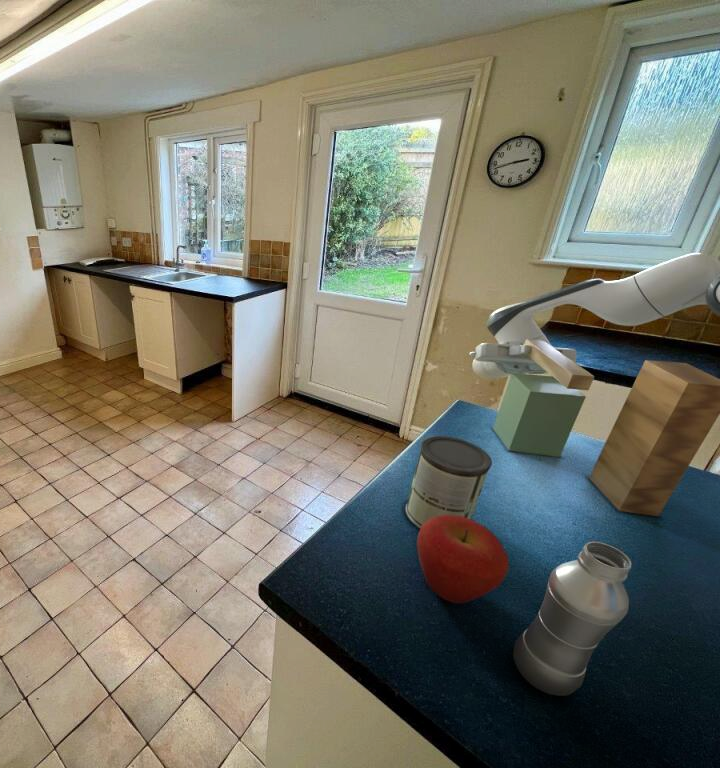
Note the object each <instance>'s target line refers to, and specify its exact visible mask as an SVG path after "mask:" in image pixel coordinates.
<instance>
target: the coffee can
mask: <svg viewBox="0 0 720 768" xmlns="http://www.w3.org/2000/svg"><path fill="white" fill-rule="evenodd" d="M419 450H420V451H419V455H418V459H417V463H416V466H415V471H414V475H413V478H412V482H411V487H410V491H409V495H408V499H407V503H406V505H405V514H406V516H407V518H408V519H409V521H410V522H411V523H412V524H413V525H414V526H416V527H417V528H418V529H419V530H420V529H421V526H422V525H423V524H424V523H425V522H426V521H428V520H429V519H431V518H434V517H438V516H441V515H456V516H462V517H464V518H467V519H470V520H473V515H474V513H475V510H476V507H477V505H478V501H479V498H480V496H481V492H482V489H483V487H484V484H485V482H486V478H487V476H488V473H489V470H490V469H491V467H492V464H493V460H492V458H491V456H490V455H489V454H488V453H487V452H486V451H485V450H484V449H482V448H481V447H480V446H478V445H476V444H474V443H472V442H470V441H466V440H464V439H461V438H456V437H452V436H445V435H436V436H435V435H434V436H431V437H430V436H429V437H427V438H425V439H424V440H422V441H421V444H420V449H419Z"/></svg>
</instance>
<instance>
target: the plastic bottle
mask: <svg viewBox="0 0 720 768" xmlns="http://www.w3.org/2000/svg"><path fill="white" fill-rule="evenodd" d="M631 569H632V561H631V559H630V558H629V557H628V556H627V555H626V554H625V552H623V551H621V550H620V549H619V548H616V547H615V546H612V545H611V544H607V543H605V542H599V541H589V542H587V543H586V544H584V546H583V548H582V550H581V551H580V552H579V553H578V555H577V558H576V560H571V561H567V562H562V563H561V564H559V565H558V566H556V567H555V568H553V570H552V571H551V572H550V576H549V577H548V582H547V586H546V590H545V594H544V599H542V600H543V601H542V602H541V605H540V609H539V610H538V613H537V615H536V617H535V618H534V619H533V621H532V622H531V623H530V625H529V626H528V628H526V629H525V630H524V631H523V632H522V633H521V634H520V635H519V636H518V638H517V639H516V640H515V643H514V645H513V646H514V647H513V653H512V658H513V661H514V664H515V666H516V668H517V670H518V671H519V673H520V674H521V676H522V677H523V678H524V680H526V682H528V683H529V684H530V685H532V687H534V688H536V689H537V690H539V691H541V692H543V693H545V694H548V695H552V696H558V697H565V696H570V695H572V694H573V693H575V692H576V691H577V690H578V689H580V688H581V686H582V685H583V683H584V680H585V676H586V672H587V666H588V664H589V663H590V659H591V657H592V656H593V655H592V654H593V652H594V650H595V649H596V648H597V646H598V645H599V644H600V642H601V641H602V640H603V638H604V637H605V636H606V635H607V634H609V632H610V631H612V629H613V628H615V627H616V626H617V625H618V624H619V623H620V622H621V621H622V620H623V619H624V618H625V617H626V616H627V614H628V612H629V605H630V603H629V602H630V599H629V595H628V593H627V591H626V587H625V586H624V584H623V583H624V582H625V581H626V579H627V578H628V573H629V572H630V570H631Z"/></svg>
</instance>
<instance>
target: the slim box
mask: <svg viewBox="0 0 720 768" xmlns="http://www.w3.org/2000/svg"><path fill="white" fill-rule="evenodd" d="M524 345H531V353H529V354H526V355H527V356H529V357H530V358H531V359H532V360H533V361H535V362H536V363H537V364H538V365H539V366H541V367H542V368H543V369H544V370H545V371H547V372H548V373H547V374H549V376H553V377H554V378H555V379H556V380H557V381H559V382H560V383H561V384H562V385H563V386H565V387H566V388H567V389H577V390H578V391H589V390H590V388H591V386H592V384H593V381H594V379H595V375H593V374H592V373H590V371H587V370H586V369H585V368H583V367H582V366H580V365H579V364H578V363H577V362H576V363H575V362H573V361H572V360H570V359H569V358H567V357H566V356H565V355H563V354H562V353H560V352H559V351H558V350H556V349H555V348H553V347H554V346H553V345H552V346H550V345H549V344H548V343H546V342H545V341H543V340H528V339H526V341H525V344H524Z"/></svg>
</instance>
